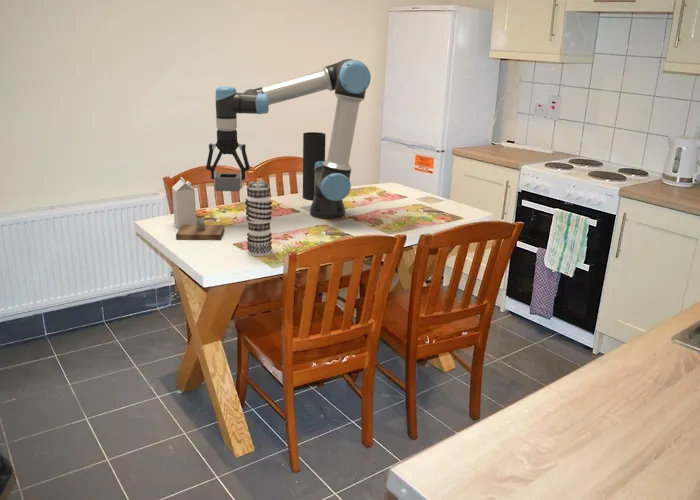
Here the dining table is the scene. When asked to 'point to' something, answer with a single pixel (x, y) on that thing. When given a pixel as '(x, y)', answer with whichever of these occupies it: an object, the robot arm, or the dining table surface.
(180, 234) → the stand
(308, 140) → the vase
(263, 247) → the decorative candle
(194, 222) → the milk carton
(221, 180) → the dark grey hollow block
